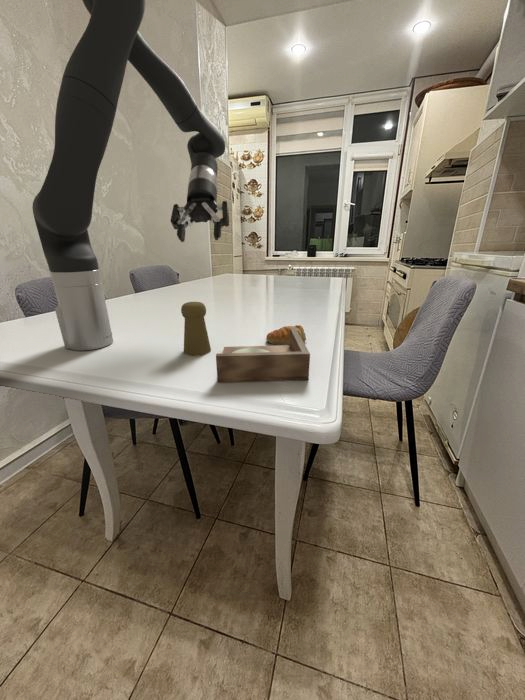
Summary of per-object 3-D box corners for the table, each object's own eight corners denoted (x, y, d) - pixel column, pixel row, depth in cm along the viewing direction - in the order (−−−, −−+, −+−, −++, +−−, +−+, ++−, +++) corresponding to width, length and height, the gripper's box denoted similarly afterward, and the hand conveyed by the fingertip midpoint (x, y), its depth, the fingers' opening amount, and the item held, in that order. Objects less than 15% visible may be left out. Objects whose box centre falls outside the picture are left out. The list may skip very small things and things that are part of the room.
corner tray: (217, 382, 51) (215, 356, 49) (224, 350, 65) (223, 328, 64) (308, 380, 51) (310, 353, 49) (294, 348, 66) (295, 327, 64)
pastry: (271, 348, 67) (272, 332, 66) (262, 339, 73) (262, 325, 72) (308, 343, 70) (308, 328, 69) (296, 335, 76) (296, 321, 75)
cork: (214, 346, 68) (210, 299, 64) (206, 356, 62) (202, 305, 58) (188, 345, 68) (184, 299, 64) (179, 355, 63) (173, 305, 59)
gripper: (171, 178, 73) (164, 229, 68) (227, 174, 72) (224, 225, 67) (181, 202, 80) (175, 250, 75) (231, 199, 79) (230, 247, 74)
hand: (198, 238), depth 71 cm, fingers open, 8 cm apart
